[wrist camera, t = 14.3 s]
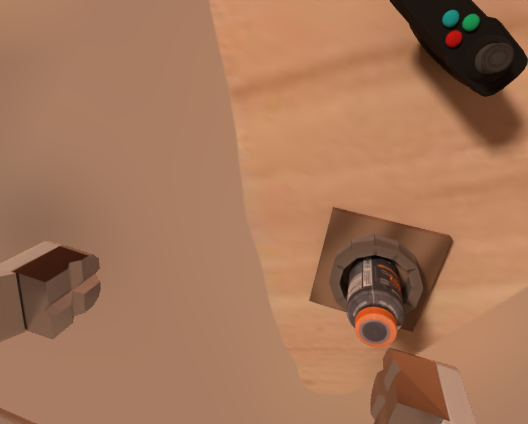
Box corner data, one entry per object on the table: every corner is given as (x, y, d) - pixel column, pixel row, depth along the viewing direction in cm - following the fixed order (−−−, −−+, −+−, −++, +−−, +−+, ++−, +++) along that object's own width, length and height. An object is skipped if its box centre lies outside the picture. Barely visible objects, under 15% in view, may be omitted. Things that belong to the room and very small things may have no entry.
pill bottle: (407, 282, 43) (420, 345, 33) (365, 300, 45) (365, 364, 35) (382, 244, 42) (387, 297, 32) (340, 265, 44) (333, 320, 34)
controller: (462, 99, 35) (495, 107, 26) (379, 12, 34) (384, -12, 25) (502, 66, 33) (552, 61, 24) (415, -28, 32) (434, -69, 24)
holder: (450, 235, 40) (458, 251, 37) (411, 326, 46) (415, 347, 42) (333, 207, 43) (330, 219, 39) (310, 296, 48) (305, 313, 45)
